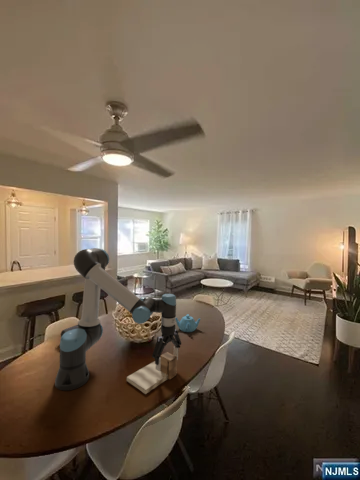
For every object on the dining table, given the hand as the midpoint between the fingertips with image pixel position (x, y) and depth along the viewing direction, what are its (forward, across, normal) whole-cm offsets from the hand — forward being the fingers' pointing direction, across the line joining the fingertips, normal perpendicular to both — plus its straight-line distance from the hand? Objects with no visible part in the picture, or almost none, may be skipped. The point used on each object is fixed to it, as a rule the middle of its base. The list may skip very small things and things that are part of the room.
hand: (167, 364), depth 118 cm
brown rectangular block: (+5, 0, +1) cm, 5 cm away
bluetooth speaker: (+5, -11, +71) cm, 72 cm away
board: (+5, -6, +4) cm, 9 cm away
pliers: (+6, +25, +39) cm, 47 cm away
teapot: (+5, +53, +27) cm, 60 cm away
